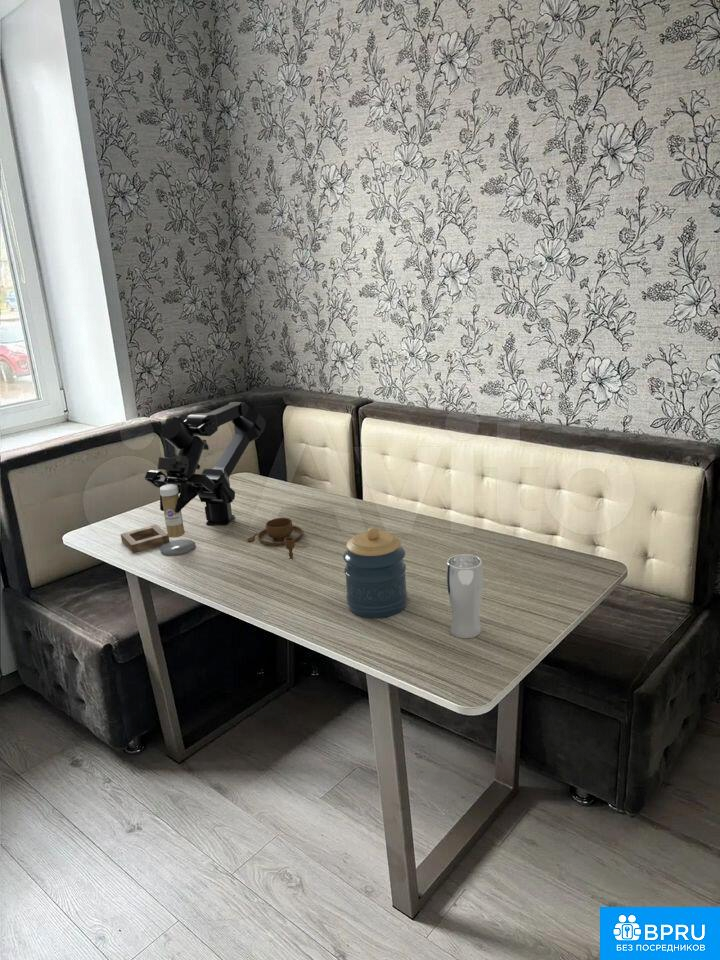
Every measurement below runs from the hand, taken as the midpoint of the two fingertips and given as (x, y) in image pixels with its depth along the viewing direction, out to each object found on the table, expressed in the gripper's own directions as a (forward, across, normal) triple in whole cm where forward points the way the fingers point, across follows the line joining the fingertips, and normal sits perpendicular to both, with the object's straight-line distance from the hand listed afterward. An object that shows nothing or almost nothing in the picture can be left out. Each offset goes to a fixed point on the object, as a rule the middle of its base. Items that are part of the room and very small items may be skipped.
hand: (168, 511), depth 189 cm
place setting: (+1, +24, +16) cm, 29 cm away
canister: (+16, +62, 0) cm, 64 cm away
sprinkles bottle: (+4, 0, +6) cm, 7 cm away
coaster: (+7, 0, +8) cm, 11 cm away
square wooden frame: (+6, -12, +9) cm, 16 cm away
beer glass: (+19, +83, -4) cm, 85 cm away
